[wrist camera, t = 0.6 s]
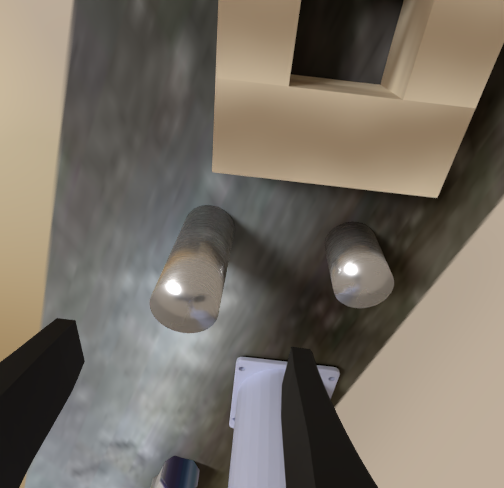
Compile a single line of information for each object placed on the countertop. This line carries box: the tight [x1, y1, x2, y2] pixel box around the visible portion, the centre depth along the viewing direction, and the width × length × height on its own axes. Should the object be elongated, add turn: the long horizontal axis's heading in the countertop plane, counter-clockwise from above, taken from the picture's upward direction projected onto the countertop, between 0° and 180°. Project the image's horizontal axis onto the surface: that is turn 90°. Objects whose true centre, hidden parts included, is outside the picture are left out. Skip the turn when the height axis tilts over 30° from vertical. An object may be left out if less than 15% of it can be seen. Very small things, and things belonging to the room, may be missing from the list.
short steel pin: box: [325, 222, 394, 308], centre depth 20 cm, size 3×3×4 cm
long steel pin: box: [150, 205, 235, 333], centre depth 18 cm, size 3×3×7 cm
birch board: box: [212, 0, 504, 198], centre depth 14 cm, size 12×10×4 cm
